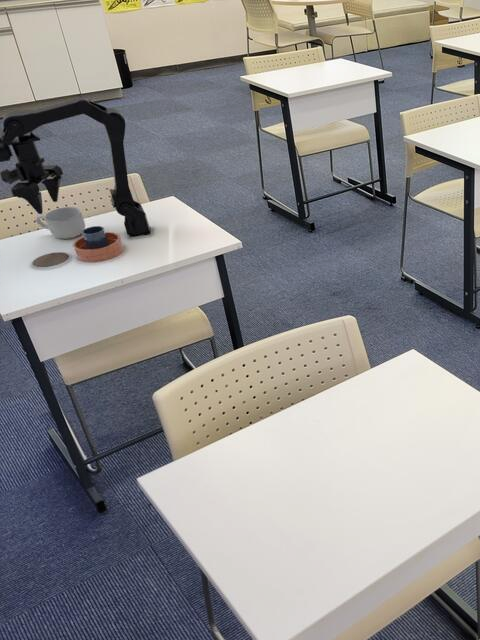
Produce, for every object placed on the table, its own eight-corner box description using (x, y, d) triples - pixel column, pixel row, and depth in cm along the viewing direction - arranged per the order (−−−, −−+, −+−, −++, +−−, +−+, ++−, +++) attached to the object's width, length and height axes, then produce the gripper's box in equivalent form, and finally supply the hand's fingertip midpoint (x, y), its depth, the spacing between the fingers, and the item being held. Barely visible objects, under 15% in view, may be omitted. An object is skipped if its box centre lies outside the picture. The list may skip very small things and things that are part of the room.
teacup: (95, 229, 232) (87, 206, 227) (76, 243, 223) (68, 220, 219) (55, 228, 233) (47, 205, 229) (35, 242, 224) (26, 218, 220)
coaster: (71, 252, 218) (70, 250, 218) (67, 265, 211) (67, 264, 210) (35, 257, 215) (35, 255, 215) (30, 271, 208) (30, 269, 207)
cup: (111, 246, 220) (104, 224, 215) (110, 255, 215) (102, 232, 211) (91, 249, 218) (83, 227, 214) (89, 258, 213) (81, 235, 209)
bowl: (125, 242, 224) (121, 229, 221) (123, 259, 214) (118, 246, 211) (80, 248, 220) (75, 235, 218) (75, 266, 210) (70, 253, 207)
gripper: (17, 147, 210) (37, 196, 219) (-18, 169, 195) (5, 220, 204) (54, 146, 210) (72, 195, 219) (22, 168, 195) (43, 220, 204)
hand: (48, 207), depth 212 cm, fingers open, 9 cm apart
